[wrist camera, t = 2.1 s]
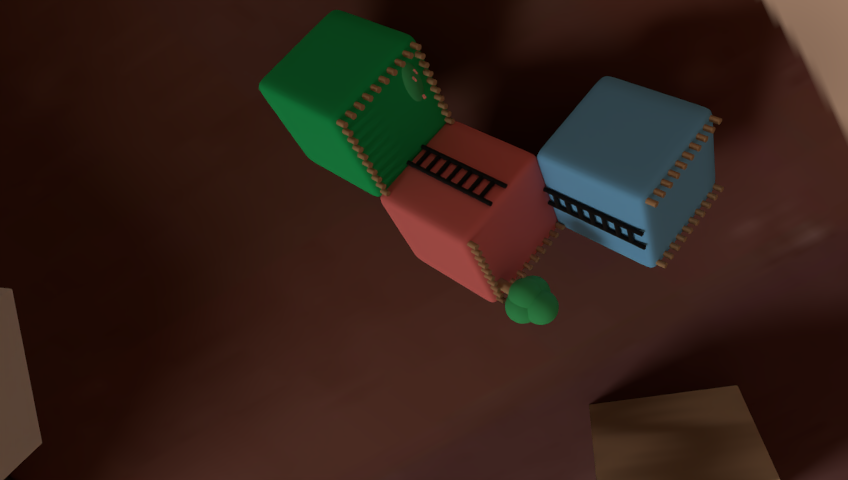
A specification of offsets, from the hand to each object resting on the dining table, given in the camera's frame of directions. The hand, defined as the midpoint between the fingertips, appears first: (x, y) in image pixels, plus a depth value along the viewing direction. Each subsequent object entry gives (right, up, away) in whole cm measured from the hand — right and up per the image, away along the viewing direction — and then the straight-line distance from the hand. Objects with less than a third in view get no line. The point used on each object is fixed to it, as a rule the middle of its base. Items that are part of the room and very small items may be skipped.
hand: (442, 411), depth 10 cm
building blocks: (+3, +7, +18) cm, 19 cm away
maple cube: (+10, -7, +21) cm, 25 cm away
